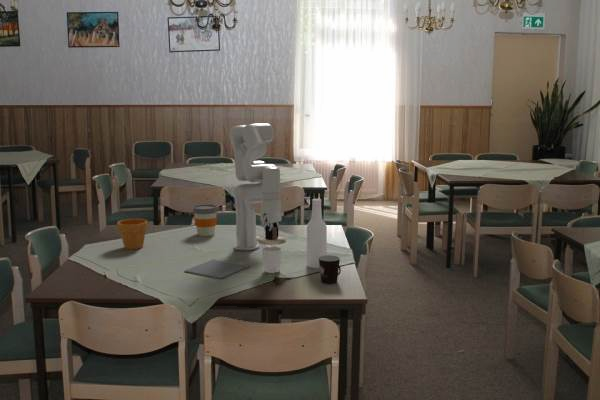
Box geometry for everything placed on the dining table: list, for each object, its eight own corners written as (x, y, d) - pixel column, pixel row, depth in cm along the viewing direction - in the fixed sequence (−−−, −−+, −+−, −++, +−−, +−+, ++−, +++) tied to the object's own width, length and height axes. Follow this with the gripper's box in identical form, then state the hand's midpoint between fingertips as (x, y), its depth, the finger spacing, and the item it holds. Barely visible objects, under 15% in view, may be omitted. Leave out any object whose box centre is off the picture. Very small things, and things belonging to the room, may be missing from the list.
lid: (267, 236, 274) (267, 224, 272) (291, 239, 268) (291, 227, 267) (252, 242, 263) (252, 229, 262) (276, 246, 257) (276, 232, 256)
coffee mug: (317, 278, 257) (317, 255, 255) (338, 278, 258) (338, 254, 256) (320, 287, 246) (320, 263, 244) (342, 287, 247) (342, 262, 245)
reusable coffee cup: (195, 237, 326) (194, 209, 324) (193, 232, 338) (192, 205, 336) (219, 236, 329) (218, 208, 326) (216, 230, 341) (215, 204, 338)
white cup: (279, 274, 264) (278, 251, 262) (261, 273, 265) (260, 250, 263) (283, 268, 271) (283, 246, 269) (265, 267, 273) (265, 245, 271)
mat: (213, 260, 284) (213, 259, 284) (249, 266, 274) (249, 265, 274) (184, 271, 267) (184, 270, 267) (221, 279, 257) (221, 277, 257)
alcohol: (304, 263, 278) (304, 198, 273) (323, 262, 280) (323, 197, 275) (309, 269, 270) (309, 201, 264) (328, 268, 272) (329, 200, 266)
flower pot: (113, 249, 303) (111, 223, 300) (128, 242, 316) (127, 217, 314) (139, 251, 299) (137, 225, 297) (153, 244, 313) (152, 219, 310)
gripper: (274, 192, 271) (275, 233, 274) (252, 198, 257) (253, 241, 260) (289, 193, 267) (289, 235, 270) (267, 199, 253) (268, 243, 256)
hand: (271, 237), depth 265 cm, fingers closed on lid, 4 cm apart
